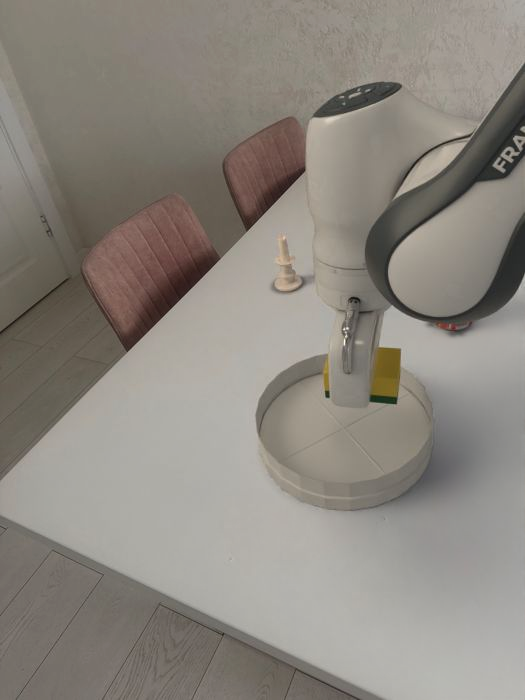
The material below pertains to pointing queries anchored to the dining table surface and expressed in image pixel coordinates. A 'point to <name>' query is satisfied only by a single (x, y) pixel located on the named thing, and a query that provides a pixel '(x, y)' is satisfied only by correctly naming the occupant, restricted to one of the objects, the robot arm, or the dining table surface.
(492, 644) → the dining table surface
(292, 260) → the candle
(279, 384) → the dish
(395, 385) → the sponge
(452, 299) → the robot arm
